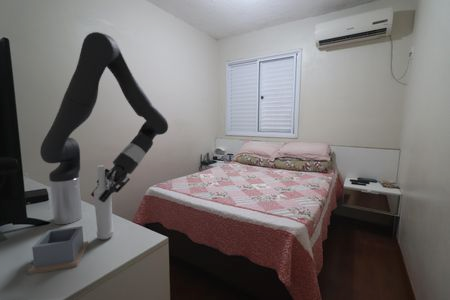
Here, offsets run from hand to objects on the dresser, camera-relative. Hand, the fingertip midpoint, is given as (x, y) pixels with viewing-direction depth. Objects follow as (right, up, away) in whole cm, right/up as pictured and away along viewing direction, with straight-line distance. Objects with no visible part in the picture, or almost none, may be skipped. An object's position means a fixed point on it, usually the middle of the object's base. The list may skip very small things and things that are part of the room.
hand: (97, 198), depth 70 cm
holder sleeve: (-6, -16, -7) cm, 19 cm away
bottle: (+1, -14, +4) cm, 15 cm away
